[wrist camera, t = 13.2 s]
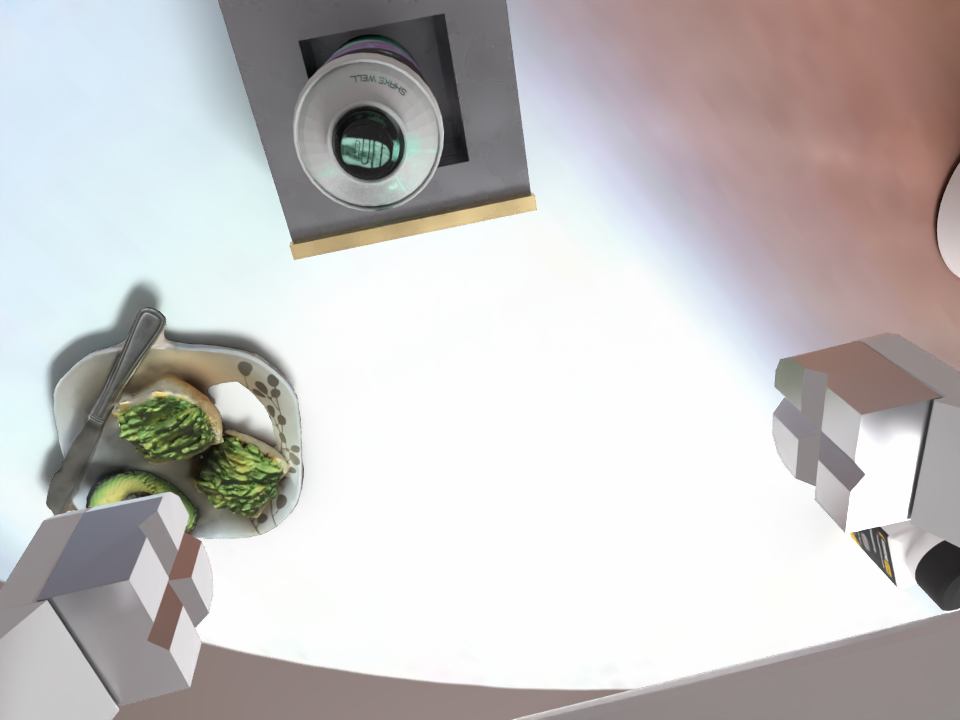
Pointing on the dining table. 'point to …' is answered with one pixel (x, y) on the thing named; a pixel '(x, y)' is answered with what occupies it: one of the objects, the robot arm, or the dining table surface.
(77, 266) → the dining table surface
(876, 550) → the medicine bottle
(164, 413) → the salad plate
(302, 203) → the socket block
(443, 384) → the dining table surface
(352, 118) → the spray can
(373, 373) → the dining table surface
